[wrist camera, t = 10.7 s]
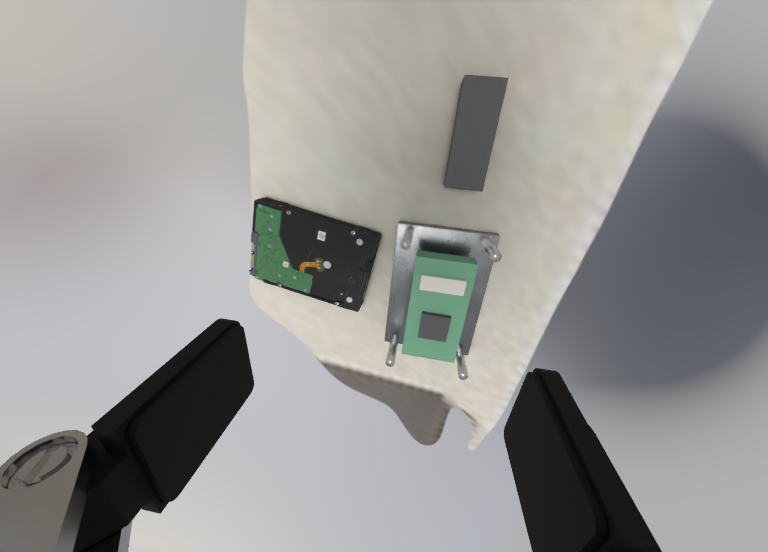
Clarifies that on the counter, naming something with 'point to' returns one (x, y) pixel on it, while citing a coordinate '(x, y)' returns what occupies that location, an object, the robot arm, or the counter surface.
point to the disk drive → (312, 253)
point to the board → (438, 304)
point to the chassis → (403, 270)
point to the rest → (474, 131)
